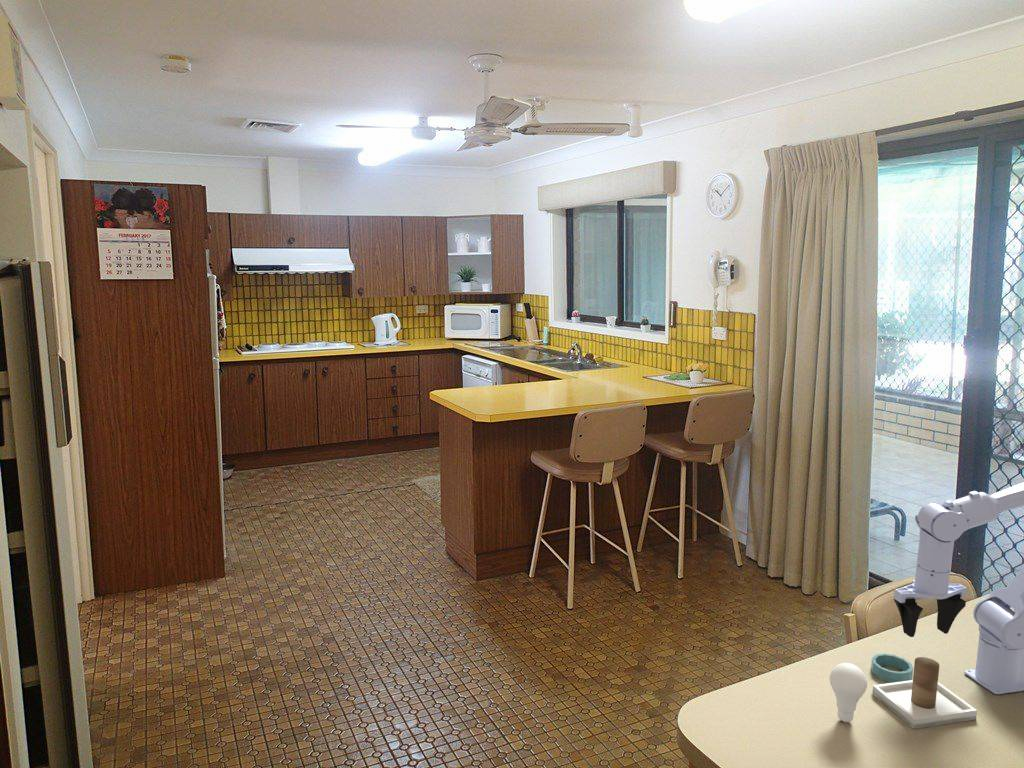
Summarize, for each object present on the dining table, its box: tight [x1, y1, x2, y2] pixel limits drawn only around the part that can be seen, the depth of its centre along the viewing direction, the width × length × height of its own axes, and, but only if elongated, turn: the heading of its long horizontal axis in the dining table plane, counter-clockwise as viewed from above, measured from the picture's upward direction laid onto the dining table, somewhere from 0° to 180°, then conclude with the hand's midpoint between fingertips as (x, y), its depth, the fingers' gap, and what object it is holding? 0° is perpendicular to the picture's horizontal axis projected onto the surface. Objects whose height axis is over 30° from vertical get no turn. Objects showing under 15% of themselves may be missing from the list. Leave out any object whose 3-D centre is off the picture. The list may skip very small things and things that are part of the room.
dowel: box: [911, 656, 940, 709], centre depth 140 cm, size 4×4×8 cm
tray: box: [871, 679, 978, 730], centre depth 141 cm, size 13×11×2 cm
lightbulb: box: [829, 662, 868, 723], centre depth 135 cm, size 6×6×11 cm
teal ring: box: [870, 653, 914, 683], centre depth 152 cm, size 7×7×2 cm
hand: (925, 632), depth 147 cm, fingers open, 7 cm apart
